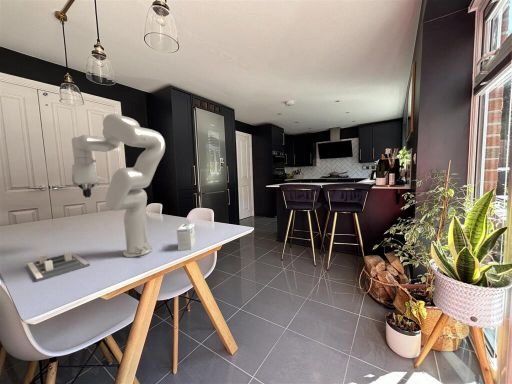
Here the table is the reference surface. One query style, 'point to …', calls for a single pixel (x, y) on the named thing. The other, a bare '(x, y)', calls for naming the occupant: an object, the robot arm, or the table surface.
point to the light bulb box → (186, 236)
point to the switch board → (56, 266)
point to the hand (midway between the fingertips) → (87, 197)
